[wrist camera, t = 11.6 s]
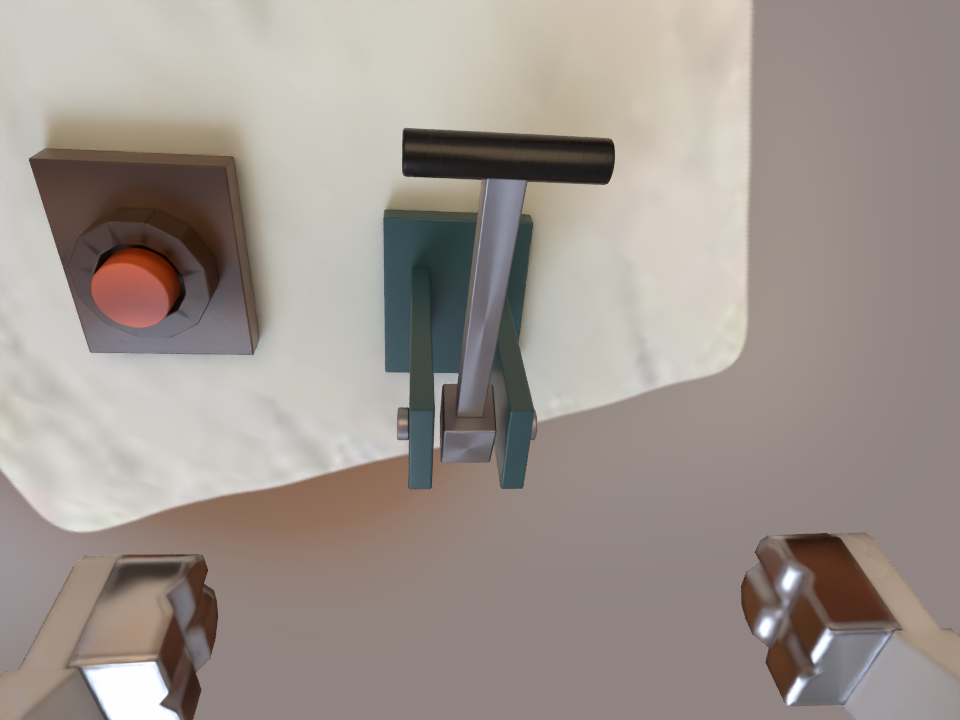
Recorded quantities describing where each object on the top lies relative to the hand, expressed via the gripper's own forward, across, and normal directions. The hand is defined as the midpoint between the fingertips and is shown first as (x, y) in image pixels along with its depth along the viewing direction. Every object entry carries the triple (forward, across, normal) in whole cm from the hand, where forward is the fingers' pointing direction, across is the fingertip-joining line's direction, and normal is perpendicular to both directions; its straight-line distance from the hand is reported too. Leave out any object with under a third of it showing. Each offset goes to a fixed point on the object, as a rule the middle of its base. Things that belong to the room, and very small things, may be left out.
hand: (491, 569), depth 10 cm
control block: (+28, +15, +8) cm, 33 cm away
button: (+25, +15, +8) cm, 30 cm away
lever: (+15, -1, +4) cm, 15 cm away
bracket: (+28, -1, +10) cm, 30 cm away
